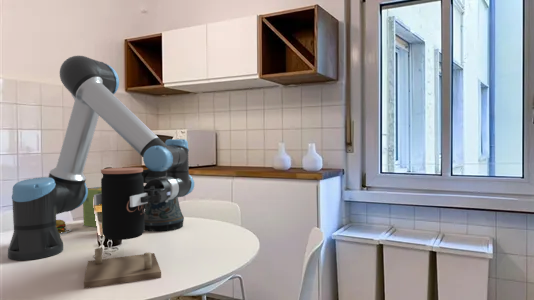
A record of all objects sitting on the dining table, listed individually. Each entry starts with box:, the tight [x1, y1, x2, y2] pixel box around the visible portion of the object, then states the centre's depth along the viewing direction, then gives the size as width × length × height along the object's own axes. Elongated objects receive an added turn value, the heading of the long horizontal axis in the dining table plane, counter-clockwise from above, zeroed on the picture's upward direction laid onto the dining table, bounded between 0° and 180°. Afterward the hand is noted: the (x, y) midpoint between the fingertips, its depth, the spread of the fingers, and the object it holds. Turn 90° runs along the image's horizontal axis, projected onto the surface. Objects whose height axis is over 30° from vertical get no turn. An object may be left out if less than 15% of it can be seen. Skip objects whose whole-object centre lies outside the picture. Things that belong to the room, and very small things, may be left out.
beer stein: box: [141, 168, 185, 233], centre depth 158 cm, size 16×19×25 cm
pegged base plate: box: [83, 247, 162, 289], centre depth 107 cm, size 18×18×6 cm
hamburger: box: [56, 219, 72, 235], centre depth 154 cm, size 12×12×6 cm
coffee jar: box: [100, 166, 145, 241], centre depth 106 cm, size 11×11×18 cm
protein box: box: [82, 186, 102, 228], centre depth 166 cm, size 10×15×16 cm
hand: (112, 200), depth 102 cm, fingers closed on coffee jar, 11 cm apart
